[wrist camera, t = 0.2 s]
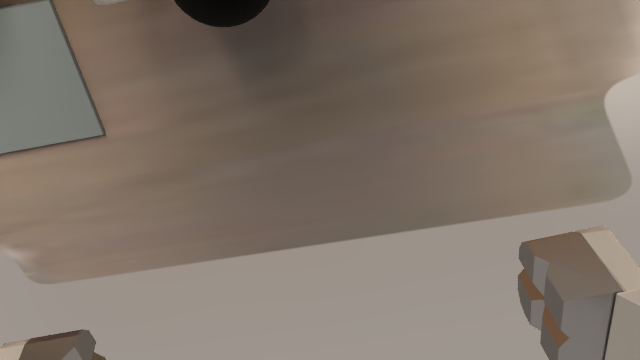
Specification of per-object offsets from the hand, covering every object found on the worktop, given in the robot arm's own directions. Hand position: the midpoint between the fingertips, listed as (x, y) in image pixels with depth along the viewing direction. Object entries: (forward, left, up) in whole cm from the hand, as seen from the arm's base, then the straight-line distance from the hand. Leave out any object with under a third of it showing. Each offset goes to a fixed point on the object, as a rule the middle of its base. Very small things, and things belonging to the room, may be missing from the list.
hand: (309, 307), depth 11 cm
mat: (+12, -26, -48) cm, 56 cm away
